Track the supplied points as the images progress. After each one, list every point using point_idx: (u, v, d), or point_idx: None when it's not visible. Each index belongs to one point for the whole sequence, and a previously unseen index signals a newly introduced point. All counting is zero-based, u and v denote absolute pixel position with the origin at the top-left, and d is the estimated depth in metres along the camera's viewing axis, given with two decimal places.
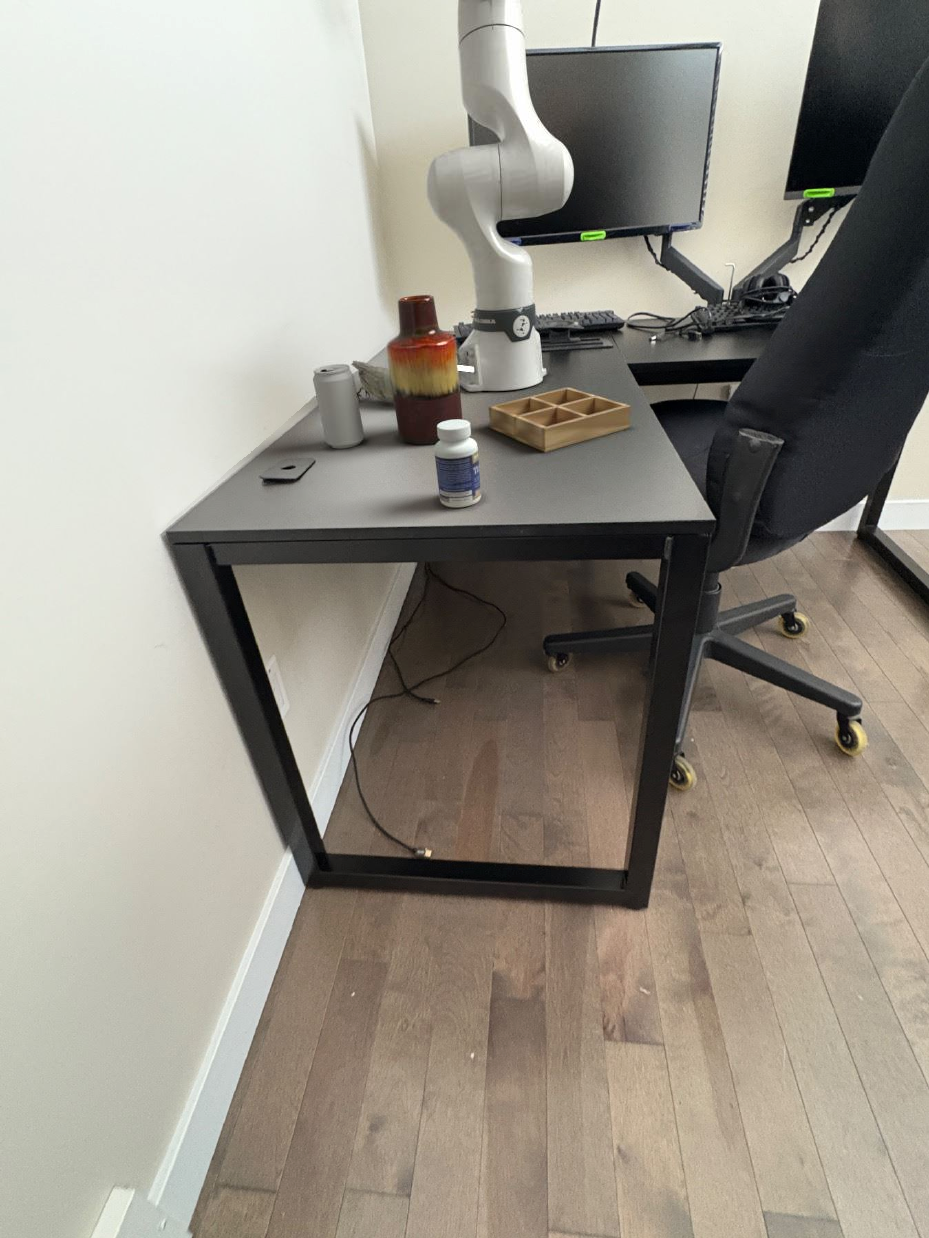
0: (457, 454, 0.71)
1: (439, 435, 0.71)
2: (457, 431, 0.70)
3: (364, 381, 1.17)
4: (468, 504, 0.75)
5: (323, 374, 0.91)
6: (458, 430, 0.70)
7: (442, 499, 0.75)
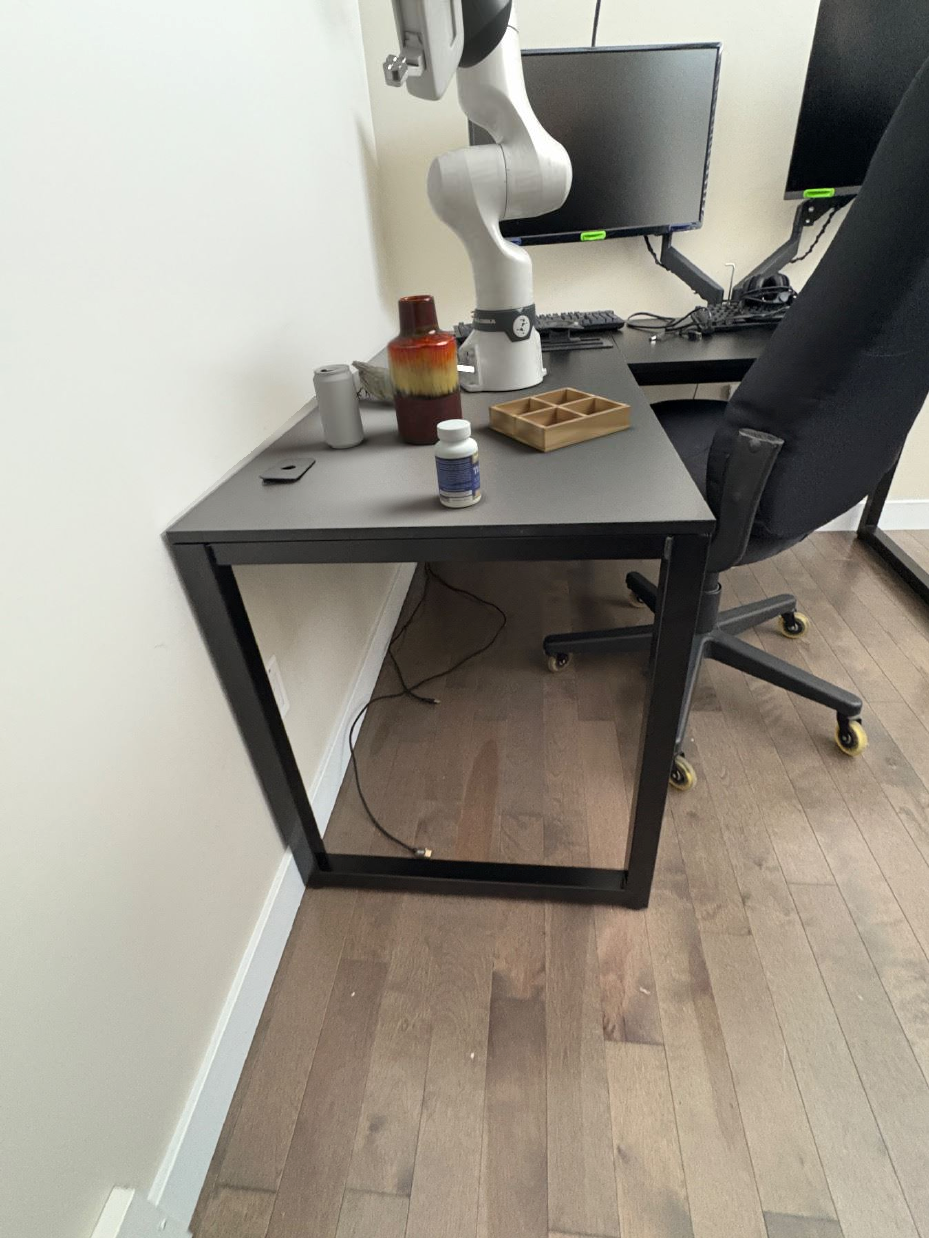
0: (457, 454, 0.71)
1: (439, 435, 0.71)
2: (457, 431, 0.70)
3: (364, 381, 1.17)
4: (468, 504, 0.75)
5: (323, 374, 0.91)
6: (458, 430, 0.70)
7: (442, 499, 0.75)
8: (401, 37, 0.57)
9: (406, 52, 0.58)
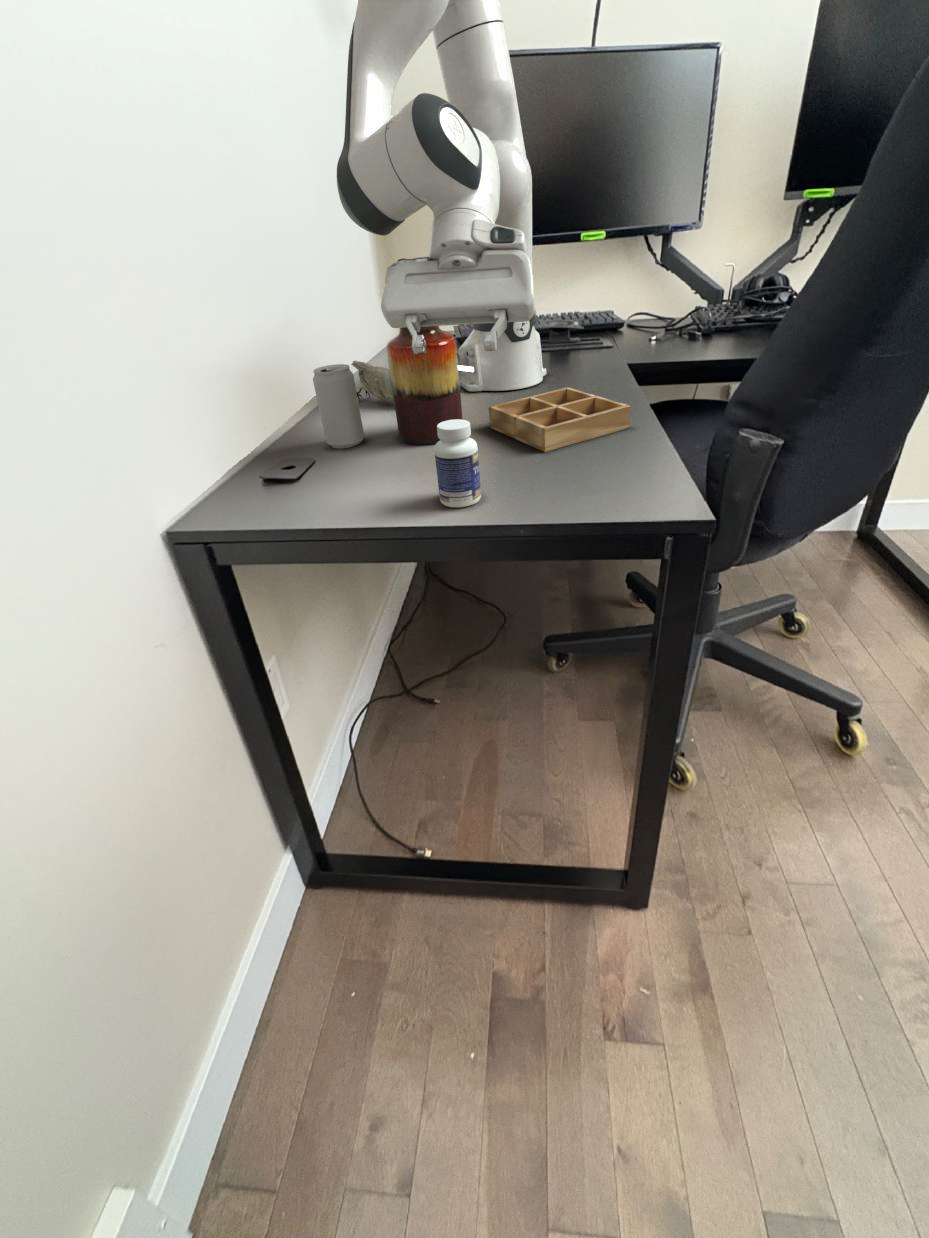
0: (457, 454, 0.71)
1: (439, 435, 0.71)
2: (457, 431, 0.70)
3: (364, 381, 1.17)
4: (468, 504, 0.75)
5: (323, 374, 0.91)
6: (458, 430, 0.70)
7: (442, 499, 0.75)
8: (421, 312, 0.78)
9: (417, 320, 0.79)
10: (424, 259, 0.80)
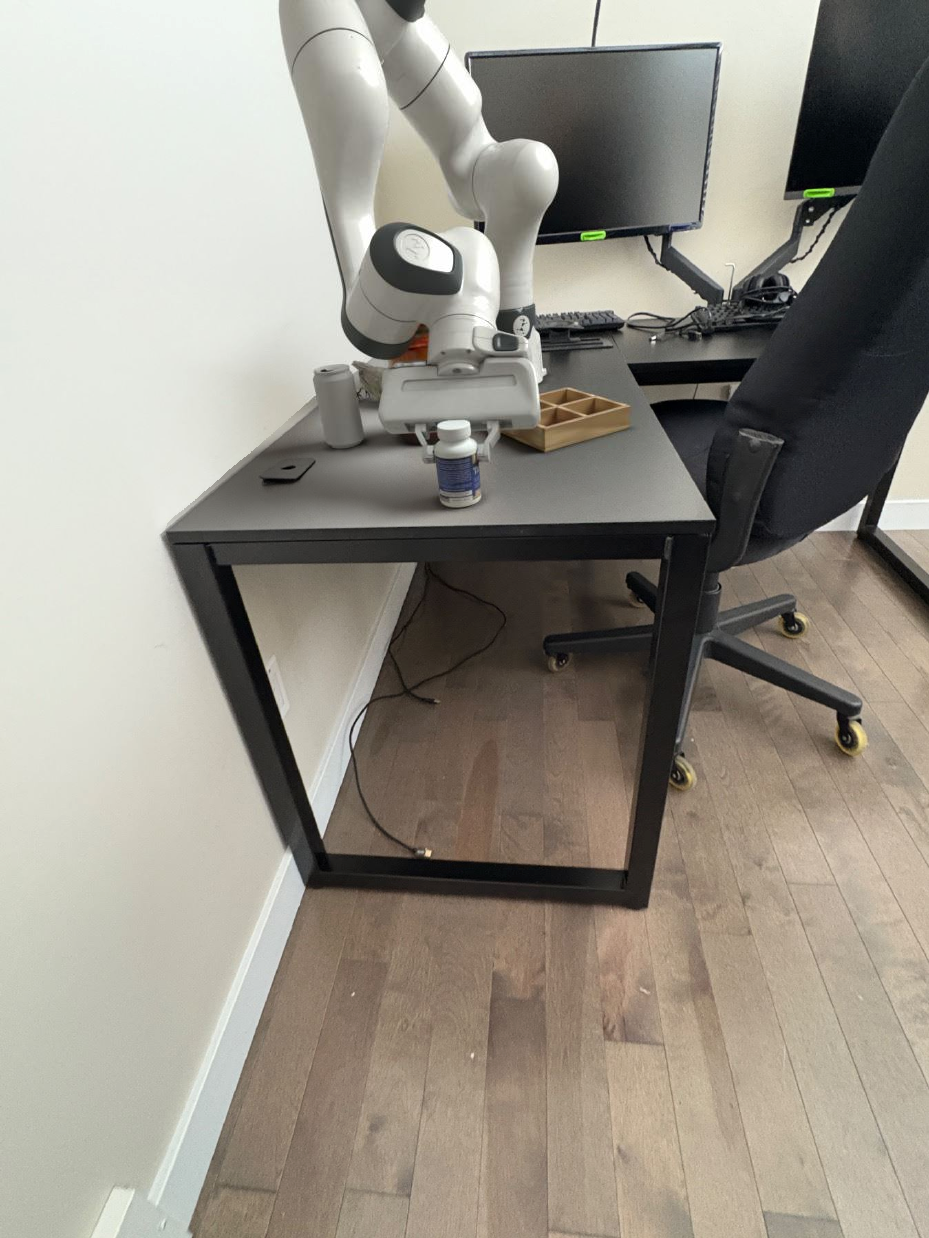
0: (458, 454, 0.71)
1: (439, 435, 0.71)
2: (457, 431, 0.70)
3: (364, 381, 1.17)
4: (468, 504, 0.75)
5: (323, 374, 0.91)
6: (458, 430, 0.70)
7: (442, 499, 0.75)
8: (421, 422, 0.74)
9: (426, 429, 0.74)
10: (422, 362, 0.76)
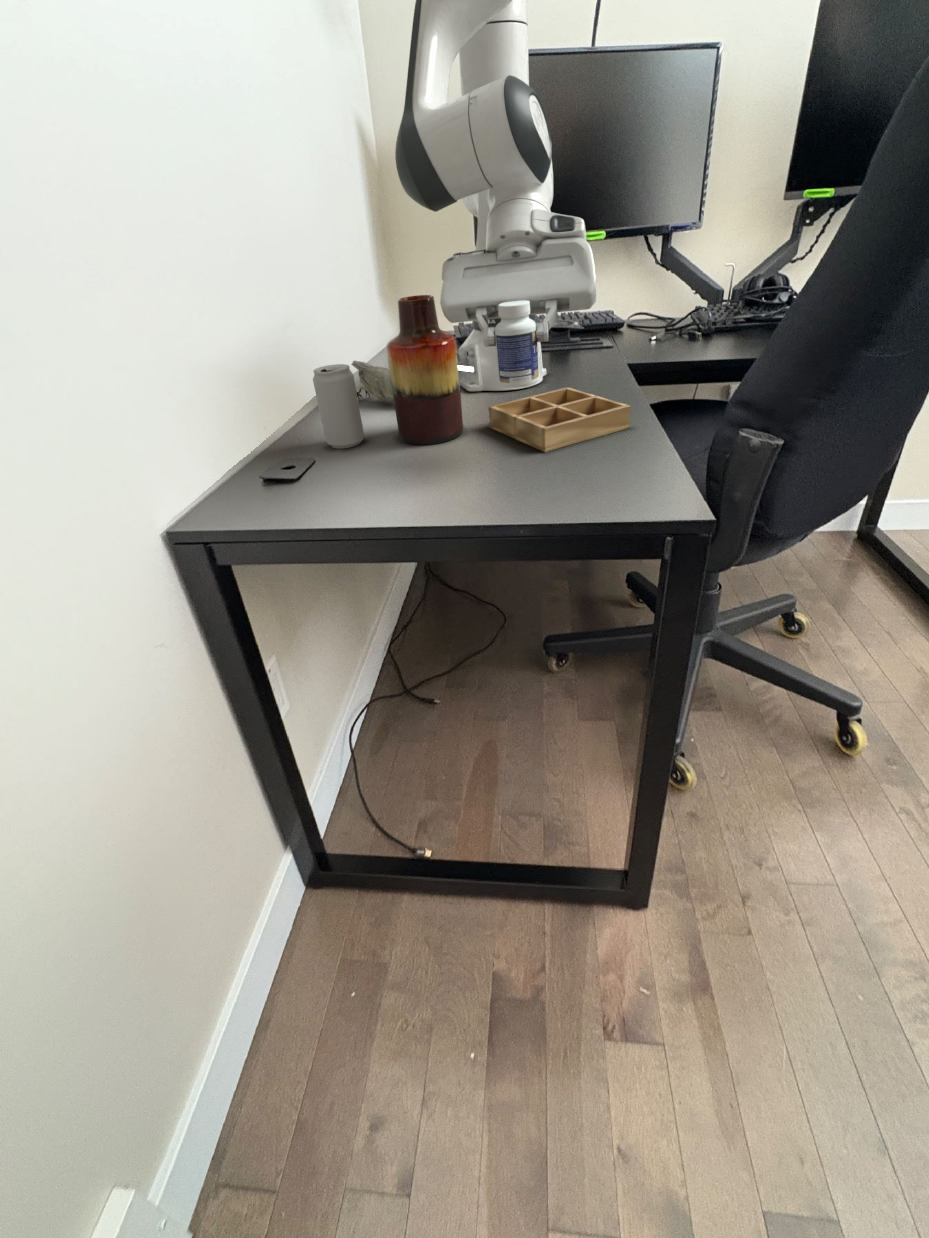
0: (519, 331, 0.75)
1: (500, 313, 0.75)
2: (518, 307, 0.74)
3: (364, 381, 1.17)
4: (527, 384, 0.79)
5: (323, 374, 0.91)
6: (520, 306, 0.74)
7: (502, 381, 0.79)
8: (482, 305, 0.78)
9: (487, 313, 0.78)
10: (481, 252, 0.80)
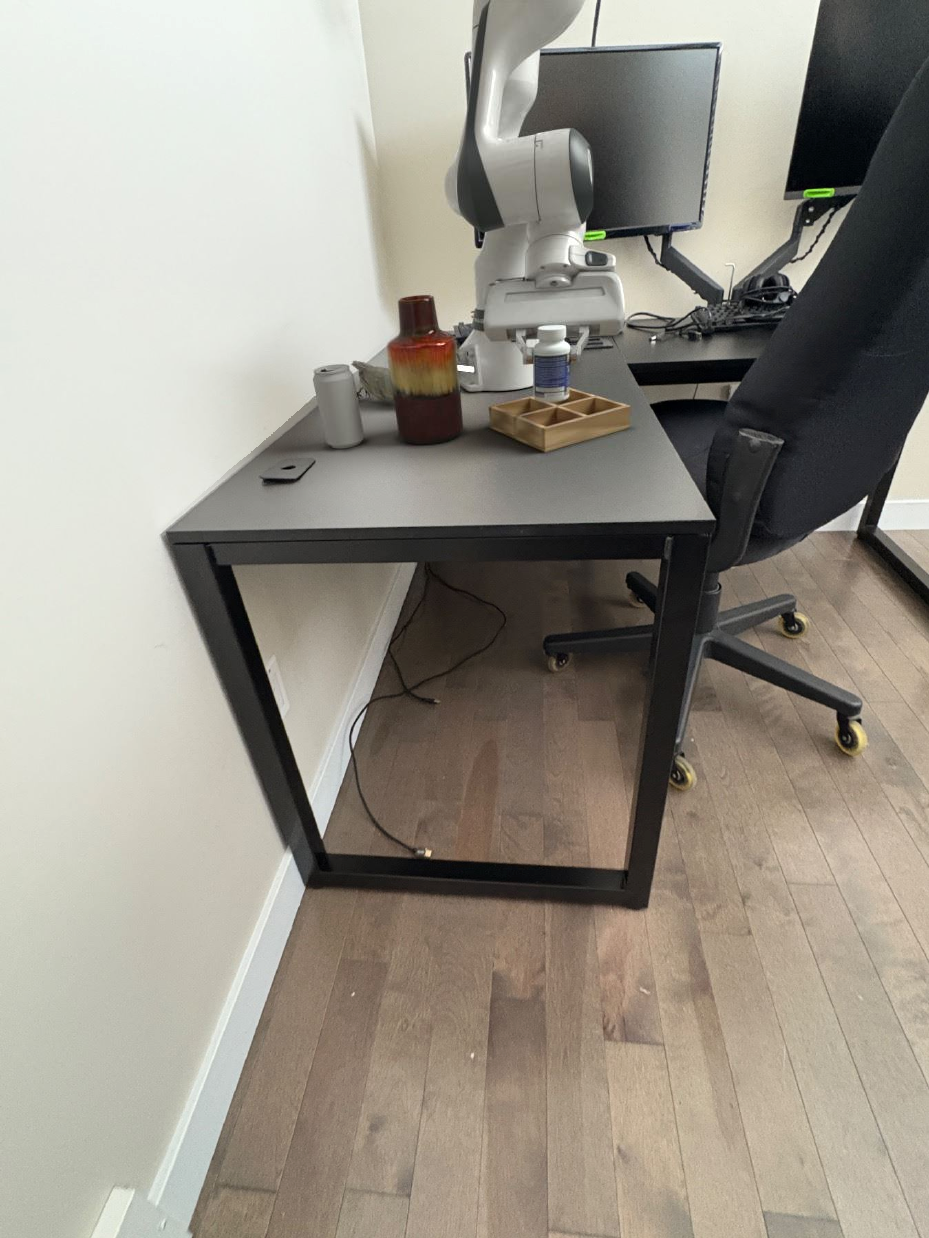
0: (556, 352, 0.84)
1: (540, 336, 0.84)
2: (557, 331, 0.83)
3: (364, 381, 1.17)
4: (560, 399, 0.87)
5: (323, 374, 0.91)
6: (558, 331, 0.83)
7: (537, 395, 0.88)
8: (521, 327, 0.86)
9: (525, 334, 0.87)
10: (520, 279, 0.89)
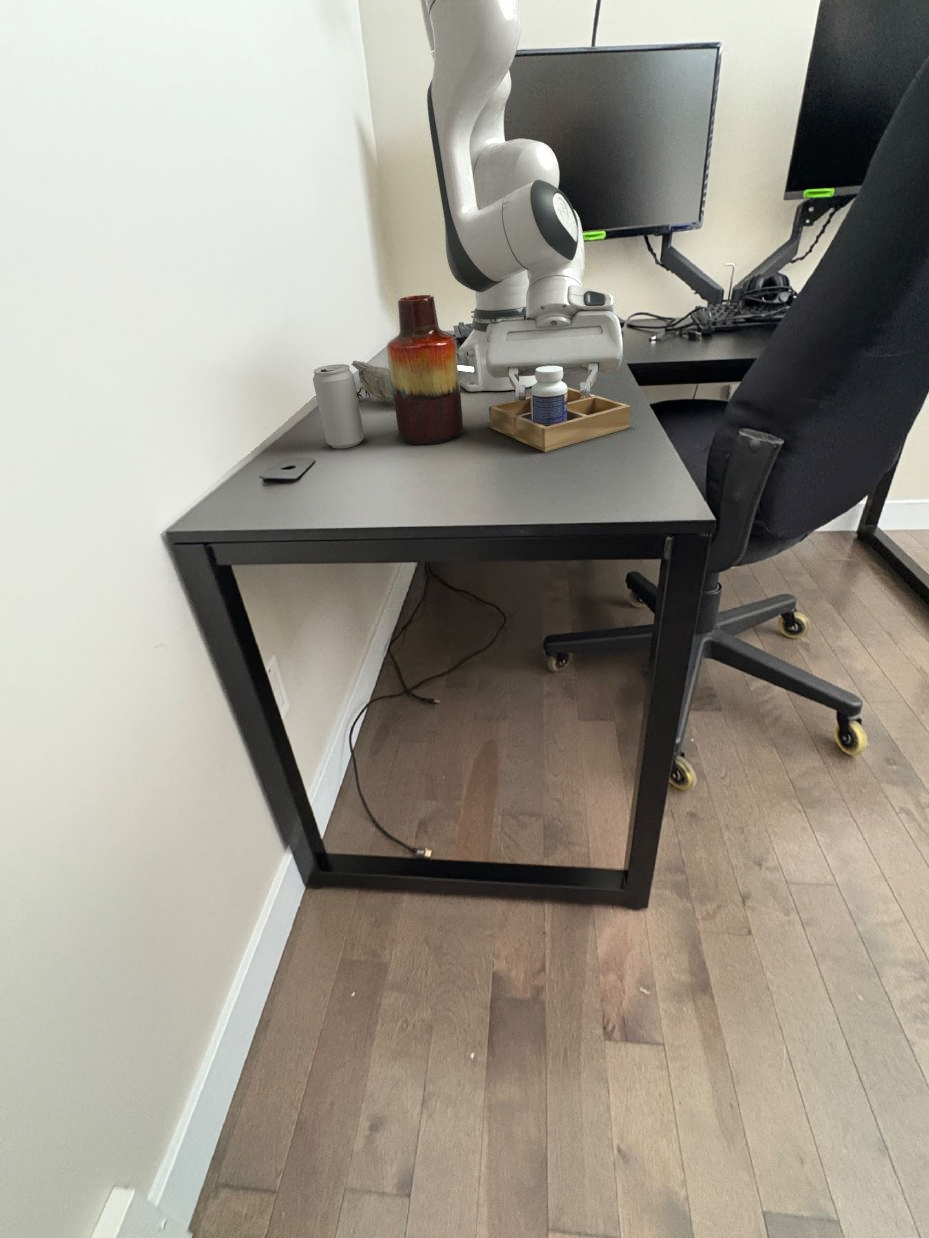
0: (553, 393, 0.87)
1: (537, 377, 0.87)
2: (554, 373, 0.86)
3: (364, 381, 1.17)
4: None
5: (323, 374, 0.91)
6: (555, 373, 0.86)
7: None
8: (523, 365, 0.90)
9: (518, 372, 0.90)
10: (521, 318, 0.92)
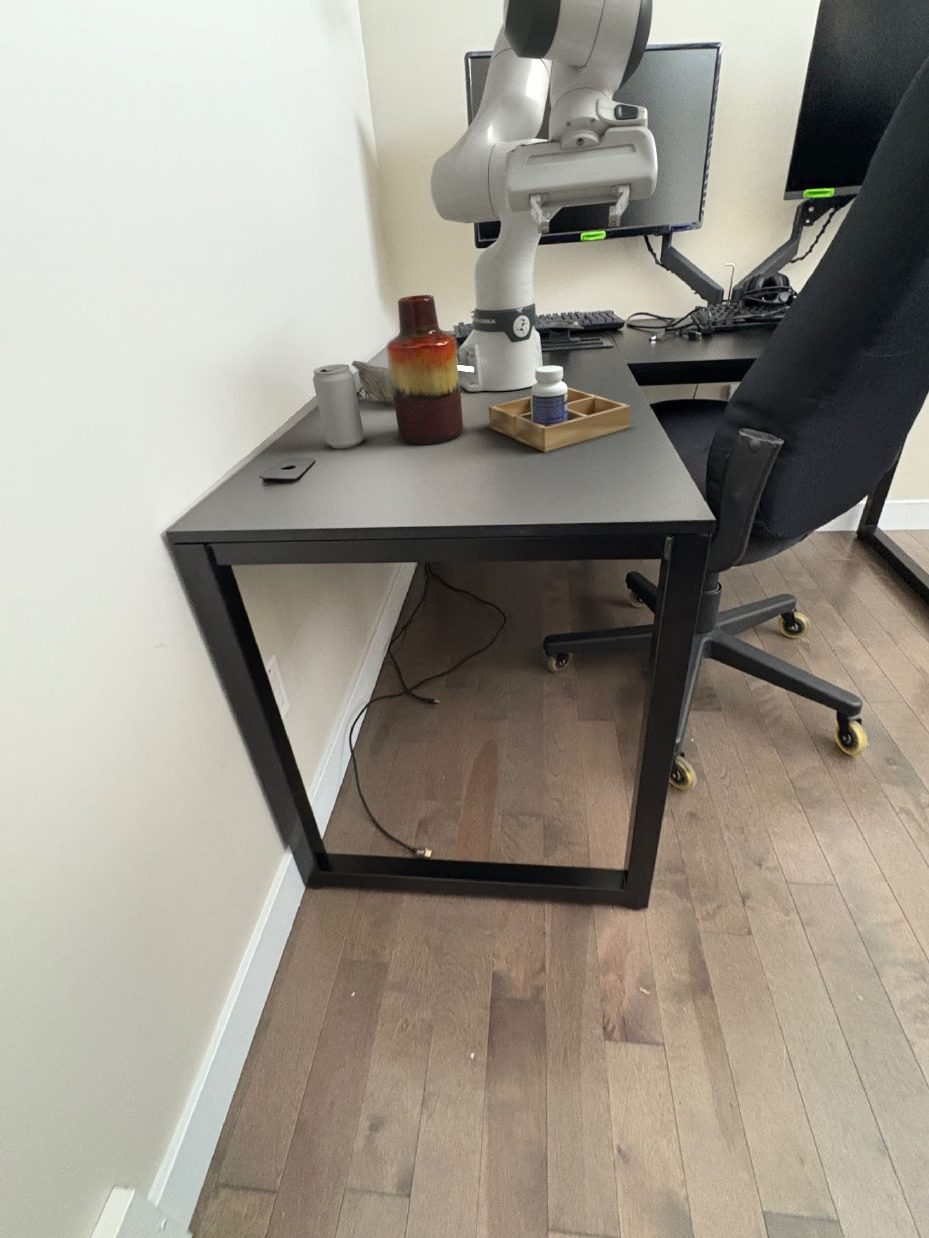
0: (553, 393, 0.87)
1: (537, 377, 0.87)
2: (554, 373, 0.86)
3: (364, 381, 1.17)
4: None
5: (323, 374, 0.91)
6: (555, 373, 0.86)
7: None
8: (546, 191, 0.81)
9: (540, 200, 0.82)
10: (543, 143, 0.83)
